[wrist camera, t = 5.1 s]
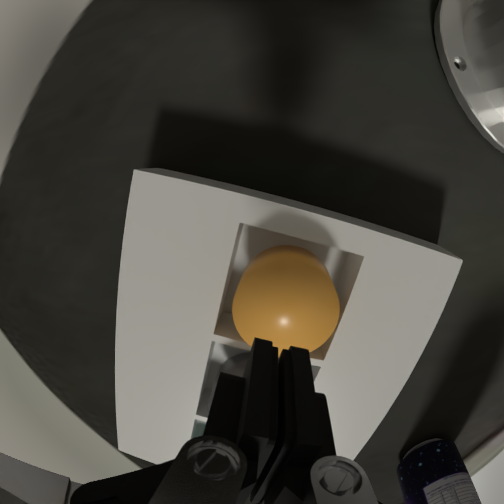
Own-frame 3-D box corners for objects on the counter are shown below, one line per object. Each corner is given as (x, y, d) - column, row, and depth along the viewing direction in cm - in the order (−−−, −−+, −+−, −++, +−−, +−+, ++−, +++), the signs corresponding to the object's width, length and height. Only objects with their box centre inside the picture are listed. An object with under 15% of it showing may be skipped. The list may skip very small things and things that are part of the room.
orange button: (252, 234, 15) (246, 248, 12) (343, 258, 14) (354, 277, 12) (231, 317, 16) (222, 343, 13) (314, 338, 16) (319, 366, 13)
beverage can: (383, 460, 21) (408, 576, 9) (439, 423, 19) (487, 538, 8) (410, 477, 21) (435, 575, 10) (459, 445, 20) (500, 541, 9)
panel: (158, 167, 16) (134, 169, 13) (437, 244, 16) (463, 260, 13) (132, 424, 22) (118, 449, 19) (320, 469, 21) (322, 497, 19)
